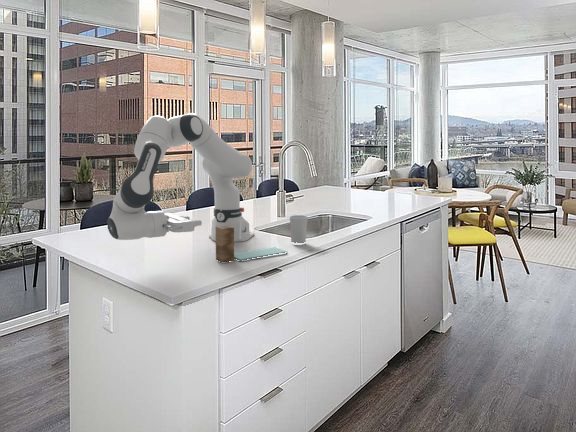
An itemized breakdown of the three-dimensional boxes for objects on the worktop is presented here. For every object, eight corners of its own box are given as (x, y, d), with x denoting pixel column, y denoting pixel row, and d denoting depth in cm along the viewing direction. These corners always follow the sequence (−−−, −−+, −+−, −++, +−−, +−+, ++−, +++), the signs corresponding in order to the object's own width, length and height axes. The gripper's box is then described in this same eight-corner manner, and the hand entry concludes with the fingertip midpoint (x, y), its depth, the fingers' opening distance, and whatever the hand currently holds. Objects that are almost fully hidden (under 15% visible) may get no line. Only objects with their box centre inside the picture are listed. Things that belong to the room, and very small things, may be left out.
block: (222, 263, 189) (222, 228, 187) (216, 260, 193) (215, 226, 191) (234, 261, 192) (234, 227, 190) (227, 258, 196) (227, 225, 194)
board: (240, 261, 191) (240, 259, 191) (228, 256, 198) (228, 254, 198) (287, 253, 204) (287, 251, 204) (274, 249, 211) (274, 247, 211)
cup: (311, 244, 222) (311, 217, 220) (298, 246, 217) (298, 219, 215) (298, 241, 228) (299, 214, 226) (285, 243, 223) (285, 216, 220)
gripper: (170, 219, 165) (208, 215, 173) (146, 210, 181) (182, 208, 190) (170, 238, 166) (208, 234, 174) (146, 228, 182) (182, 224, 191)
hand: (194, 220), depth 182 cm, fingers open, 8 cm apart
